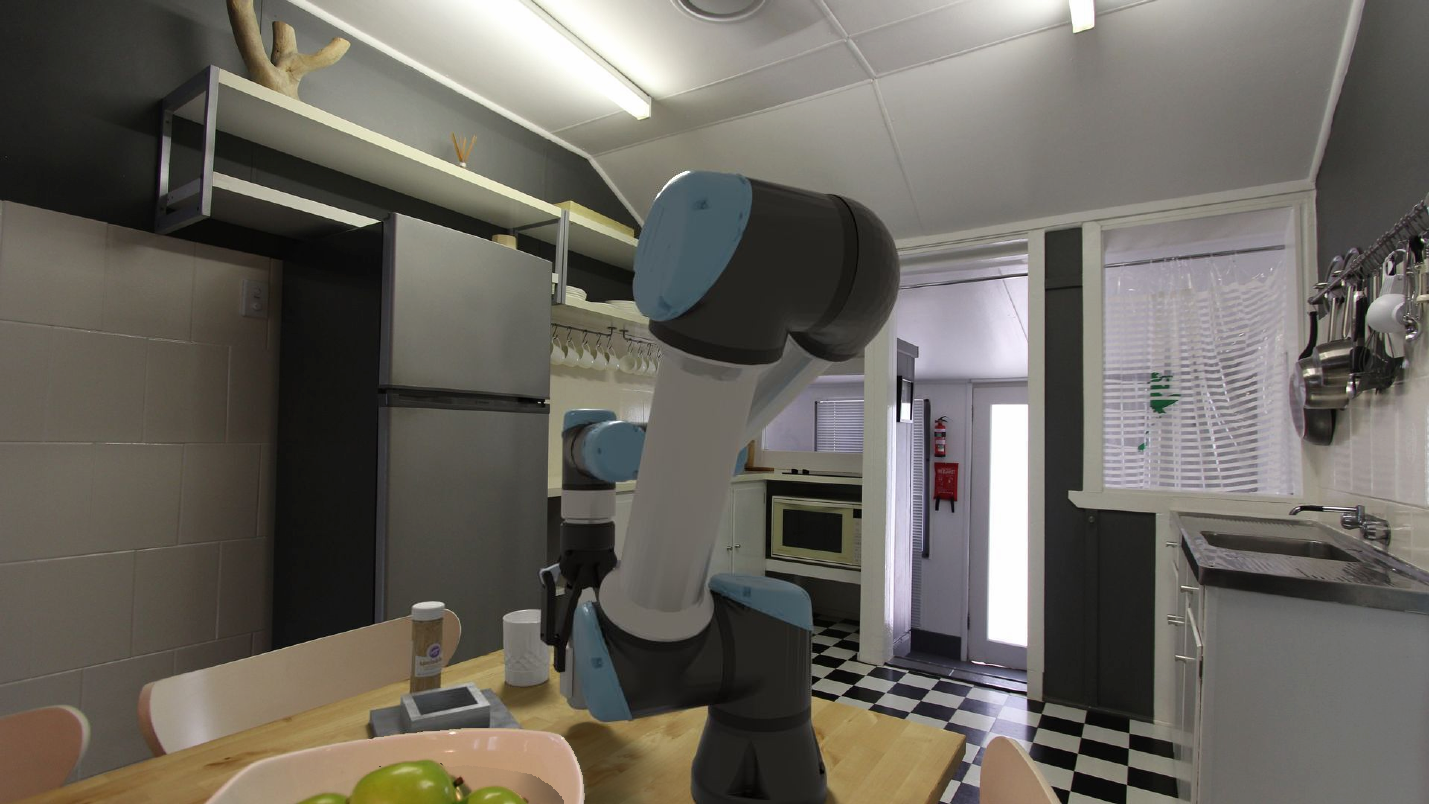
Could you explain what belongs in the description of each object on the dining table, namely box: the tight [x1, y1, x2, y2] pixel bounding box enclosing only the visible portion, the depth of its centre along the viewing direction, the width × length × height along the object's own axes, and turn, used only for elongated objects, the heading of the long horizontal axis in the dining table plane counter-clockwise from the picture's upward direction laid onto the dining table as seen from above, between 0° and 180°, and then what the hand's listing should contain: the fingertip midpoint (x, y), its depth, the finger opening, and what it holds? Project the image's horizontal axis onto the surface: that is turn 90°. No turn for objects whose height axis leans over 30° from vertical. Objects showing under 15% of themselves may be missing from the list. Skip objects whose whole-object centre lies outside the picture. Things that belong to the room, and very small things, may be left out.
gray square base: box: [369, 681, 524, 738], centre depth 88 cm, size 16×16×4 cm
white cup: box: [502, 609, 553, 687], centre depth 107 cm, size 8×8×10 cm
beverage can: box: [566, 620, 588, 711], centre depth 92 cm, size 5×5×12 cm
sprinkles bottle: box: [408, 601, 446, 694], centre depth 100 cm, size 5×5×13 cm
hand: (585, 691), depth 92 cm, fingers closed on beverage can, 5 cm apart
